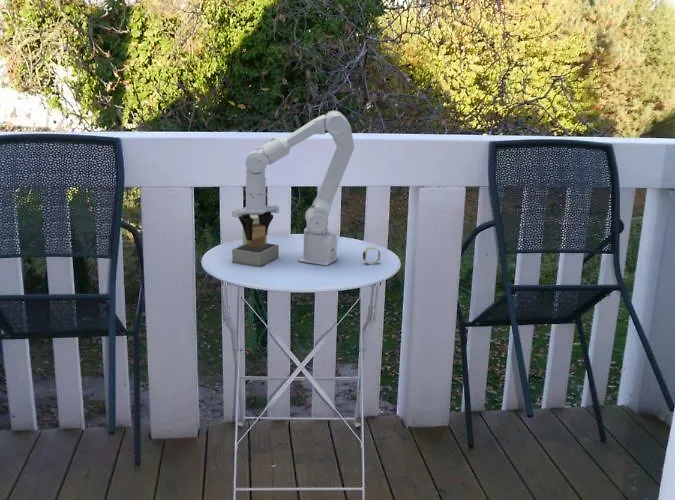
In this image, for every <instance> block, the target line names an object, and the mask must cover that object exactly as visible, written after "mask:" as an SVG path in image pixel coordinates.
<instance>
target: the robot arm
mask: <svg viewBox="0 0 675 500" xmlns="http://www.w3.org/2000/svg"><path fill="white" fill-rule="evenodd" d="M326 131H327V133H328V134H329V135H330V136H331V137H332V139H333V142H334V144H335V146H336V148H335V151H334V153H333V155H332V158H331V161H330V162H329V166H328V168H327V171H326V173H325V174H324V175H325V176H324V178H323V181H322V182H321V183H322V184H321V185H320V188H319V190H318V191H317V194H316V197H315V199H314V200H313V202H312V205H311V206H310V207H309V208H308V209H307V210H306V211H305V213H304V214H305V215H304V219H305V221H306V227H305V228H304V229H303V256H302V257H300V258H299V259H298V260H297V262H299V263H300V262H301V263H307V264H314V265H319V266H328V265H330V264H332V263H333V262H335V261H337V260H338V257H337V250H338V249H337V248H338V247H337V246H338V245H337V244H338V239H337V235H336V234H334V233H332V232H329V228H328V227H329V226H328V225H329V216H330V213H331V207H332V205H333V201H334V198H335V196H336V194H337V191H338V188H339V187H340V184H341V182H342V179H343V178H344V174H345V172H346V170H347V167H348V164H349V162H350V160H351V157H352V154H353V152H354V150H355V142H354V138H353V137H354V136H353V132H352V126H351V123H350V122H349V121H348V119H347V117H346V116H345V115H343V113H342V112H340V111H338V110H330V111H328V112H327V113H326V114H322V115H320V116H317V117H316V118H313V119H312V120H310V121H309V122H307V123H305V124H304V125H303V126H302V127H300V128H298V129H296V130H295V131H293V132H292V133H290V134H288V135H287V136H286V137H283V136H277V137H275V136H273V137H271V138H270V141H268V142H267V143H265V144H263V145H262V146H259V145H258V146H257V147H256V148H255V149H256V150H252V151H250V152H249V153H248V154H247V156H246V159H245V167H246V170H245V171H246V172H245V174H246V177H245V207H241V208H234V209H232V210H231V217H232V218H234V219H235V218H236V219H237V218H238V220H239V222H240V223H241V226H242V229H243V228H244V232H245V236H246V239H247V240H249V241H250V240H251V239H252V225H253V220H254V219H252V218H251V217H250V215H258V218H259V224H261V225H264V226H265V237H266V233H267V234H268V229H269V226H270V224H271V222H272V220H273V219H274V214H273V213H275V214H279V213H280V206H279V205H276V204H275V205H274V204H273V205H267V201H266V200H267V198H266V197H267V196H266V195H267V191H266V190H267V188H266V187H267V186H266V185H267V183H266V182H267V179H266V175H265V174H266V168H267V166H268V165H269V166H272V164H275V163H276V162H278V161H279V160H281V159H282V158H284V157H286V156H288V155H289V154H290V152H291V148H292V147H293V146H296V145H298V144H300V143H302V142H303V141H305V140H306V139H308V138H311V137H312V136H314V135H326Z"/></svg>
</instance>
